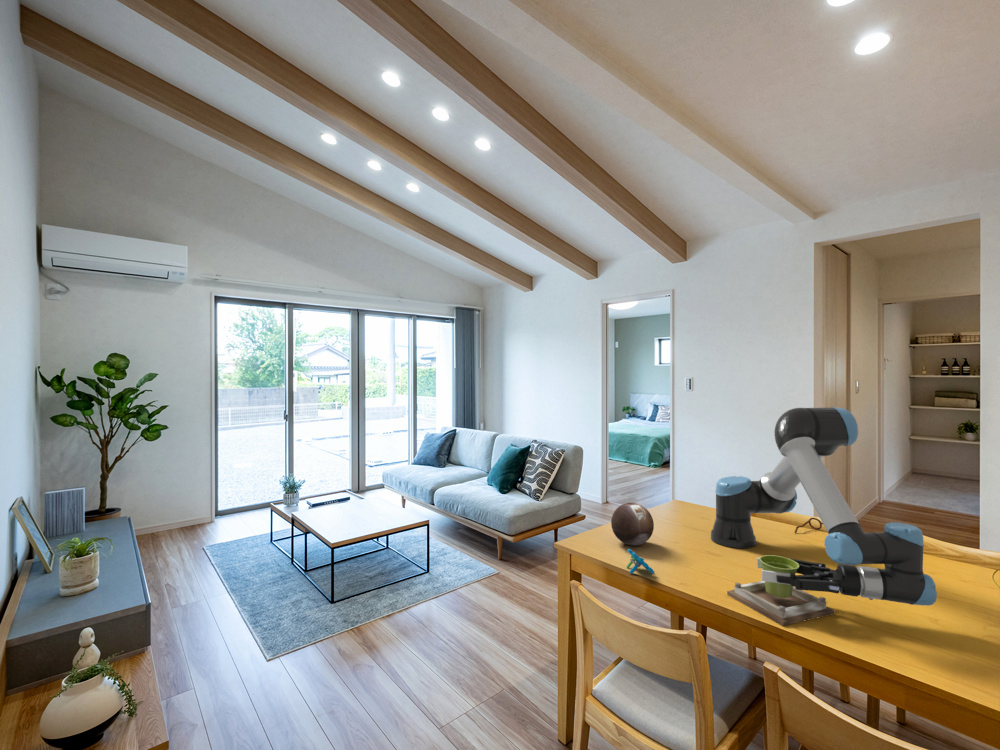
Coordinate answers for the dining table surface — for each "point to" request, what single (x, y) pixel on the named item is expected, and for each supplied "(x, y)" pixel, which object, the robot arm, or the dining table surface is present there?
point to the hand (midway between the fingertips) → (759, 568)
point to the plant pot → (779, 566)
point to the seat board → (780, 603)
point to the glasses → (810, 524)
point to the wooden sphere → (632, 524)
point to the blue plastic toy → (637, 562)
